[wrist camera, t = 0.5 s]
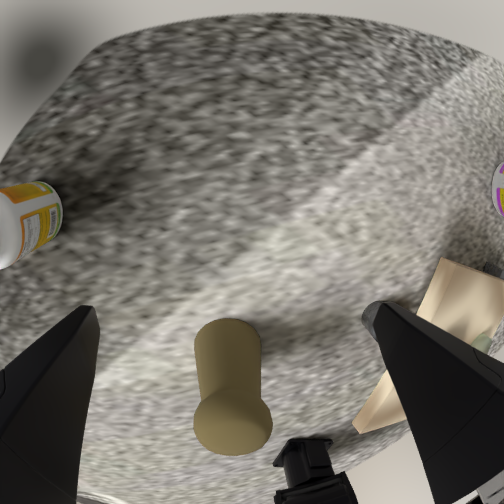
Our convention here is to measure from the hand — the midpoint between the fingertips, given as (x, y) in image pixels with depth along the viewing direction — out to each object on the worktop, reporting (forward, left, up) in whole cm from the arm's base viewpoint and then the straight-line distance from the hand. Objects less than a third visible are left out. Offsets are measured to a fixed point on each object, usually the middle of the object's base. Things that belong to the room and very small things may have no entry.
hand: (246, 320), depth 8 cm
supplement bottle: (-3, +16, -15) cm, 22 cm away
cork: (-11, -3, -15) cm, 19 cm away
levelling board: (-5, -23, -10) cm, 26 cm away
